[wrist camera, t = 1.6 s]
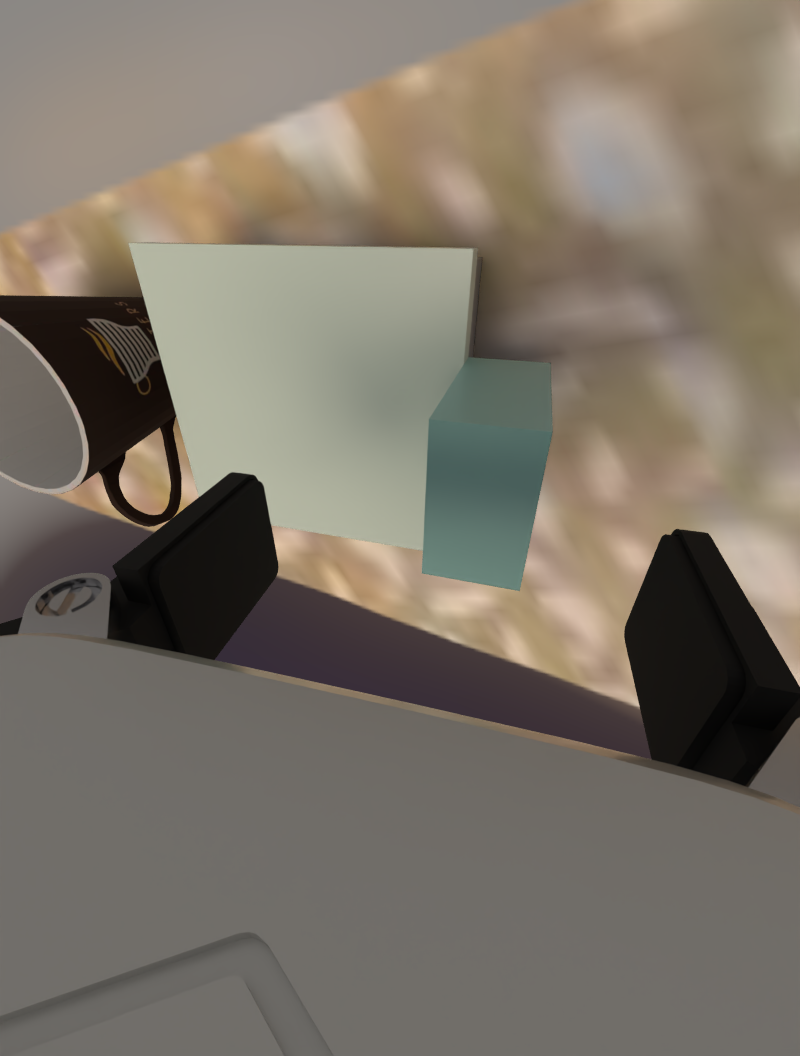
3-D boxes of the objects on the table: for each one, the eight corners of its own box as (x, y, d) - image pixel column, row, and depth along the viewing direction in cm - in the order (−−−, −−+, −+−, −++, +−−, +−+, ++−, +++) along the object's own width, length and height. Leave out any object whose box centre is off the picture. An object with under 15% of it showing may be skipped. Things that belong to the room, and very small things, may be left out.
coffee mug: (75, 276, 26) (-136, 295, 18) (201, 273, 24) (26, 293, 16) (144, 459, 32) (10, 534, 24) (248, 470, 30) (140, 555, 22)
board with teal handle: (217, 502, 24) (118, 583, 19) (151, 242, 18) (-34, 247, 12) (515, 550, 21) (503, 667, 15) (572, 249, 14) (587, 260, 9)
